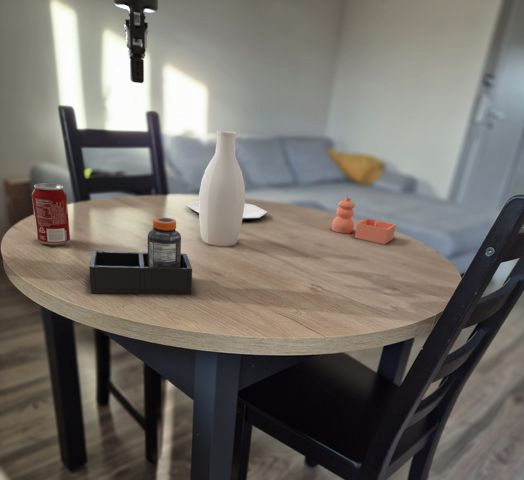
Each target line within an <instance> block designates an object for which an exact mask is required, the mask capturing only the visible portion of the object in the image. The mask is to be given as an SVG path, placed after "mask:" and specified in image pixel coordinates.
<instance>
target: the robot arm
mask: <svg viewBox="0 0 524 480" xmlns="http://www.w3.org/2000/svg"><path fill="white" fill-rule="evenodd" d="M113 4H114V5H115V6H116V7H118V8H121V9H125V10H127V11H128V17H129V18H128V19H127V18H125V19H124V32H125V34H126V48H127V49H128V58H129V66H130V67H129V69H130V70H129V71H130V75H129V76H130V81H131V82H132V83H137V84H143V83H144V82H145V62H144V61H145V57H146V52H147V51H146V50H147V47H148V34H149V33H148V32H149V22H147V21H145V20H146V14H145V13H156V12H157V11H158V8H159V0H113Z"/></svg>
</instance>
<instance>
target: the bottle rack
mask: <svg viewBox="0 0 524 480" xmlns="http://www.w3.org/2000/svg"><path fill="white" fill-rule="evenodd" d="M88 268H89V282H90V294H134V295H135V294H137V295H138V294H141V295H143V294H144V295H145V294H149V295H150V294H152V295H153V294H155V295H192V286H193V284H192V283H193V267H192V265H191V262H190V259H189V257H188V254H187V253H181V262H180V268H175V267H148V251H147V252H146V251H145V252H143V251H142V252H141V251H139V252H138V251H115V250H114V251H112V250H111V251H110V250H92V251H91V256H90V262H89V267H88Z"/></svg>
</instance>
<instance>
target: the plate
mask: <svg viewBox="0 0 524 480" xmlns="http://www.w3.org/2000/svg"><path fill="white" fill-rule="evenodd" d="M186 207H187V208H188V209H190V210H192V211H194V212H195V213H196V214H198V215H199V199H197V200H195V201H192V202H189V203H187V204H186ZM267 214H268V211H266V210H265V209H263V208H261V207H260V206H257V205H255V204H251V203H246V202H245V204H244V211H243V219H242V220H259V219H261V218H263V217H264V216H265V215H267Z"/></svg>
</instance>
